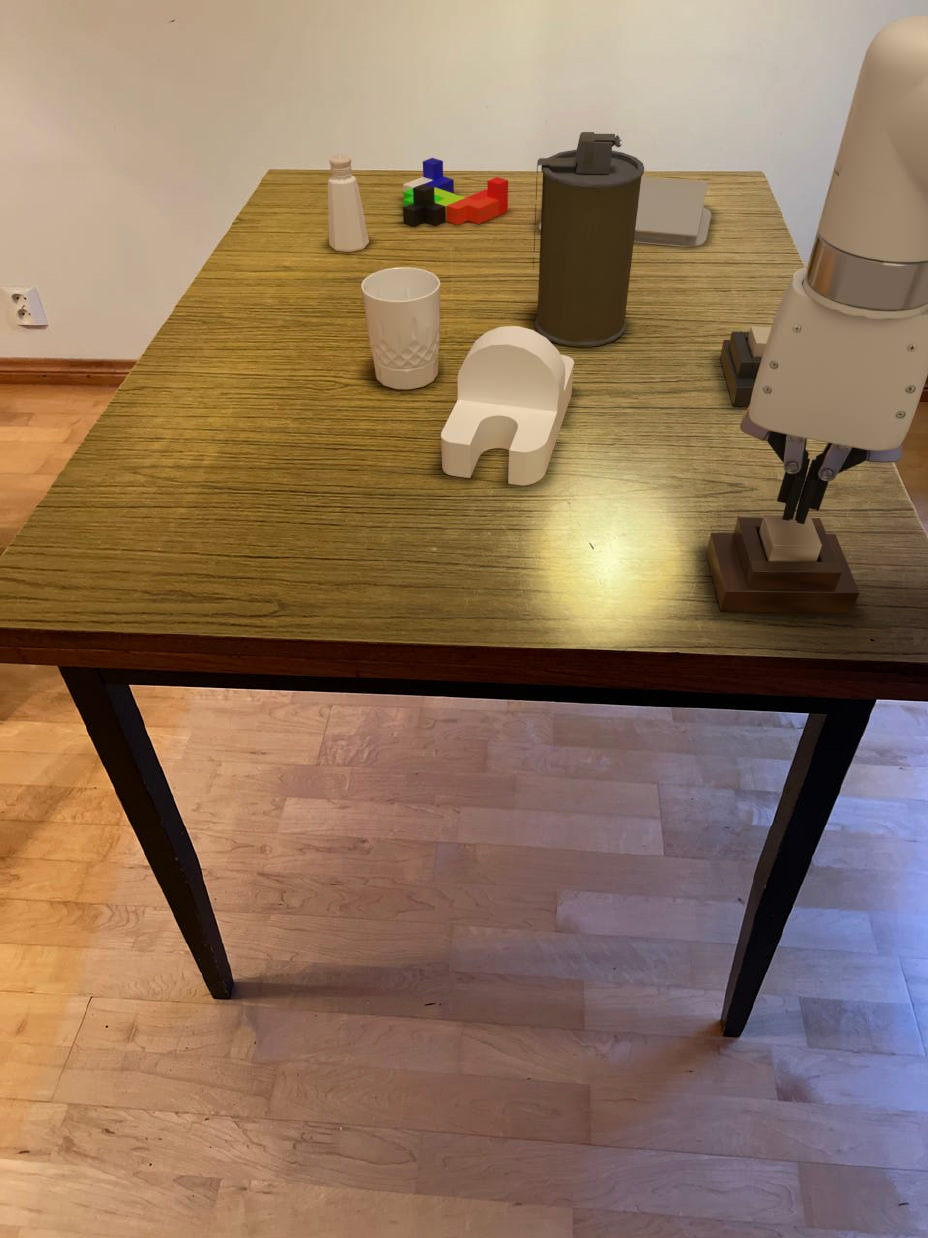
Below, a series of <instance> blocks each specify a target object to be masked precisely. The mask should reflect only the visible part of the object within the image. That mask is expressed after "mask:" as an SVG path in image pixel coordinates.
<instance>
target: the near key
mask: <svg viewBox="0 0 928 1238" xmlns="http://www.w3.org/2000/svg"><path fill="white" fill-rule="evenodd" d="M795 516H796V515H794V517H793V520H789V521H786V520H782V517H783V515H763V516H762V517H763V520H762V523H761V527H760V531H759V535H760V538H761V541H762V544H763V547H764V551H765V554H766V557H767V560H768V561H792V562H817V559H818V556H819V553H820V550H821V547H822V544H821V542H820V539H819V537H818V534H817V532H816V529H815V527H814V524H813V521H812V519H811V518H812V516H810V515H807V517H806V520H805V523H804V524H800V523H797V521H795Z"/></svg>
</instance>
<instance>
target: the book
mask: <svg viewBox="0 0 928 1238" xmlns="http://www.w3.org/2000/svg"><path fill="white" fill-rule="evenodd" d="M708 187H709V181H704V180H689V179H679V178H677V179H675V178H666V177H665V178H663V177H651V176H641V185H640V193H639V202H638V210H637V219H636V228H635V236H634V243H638V244H645V245H646V244H648V245H658V246H671V247H680V248H696V247H698V246H701V245H703V244H704V243H705V242H706V241H707V237H708V233H709V227H710V223H711V219H712V213H711V210H710V209H708V208H706V207H705V206H704V205H705V200H706V196H707V191H708ZM538 227H539V230H540V231H541V221H540V222H539V225H538Z"/></svg>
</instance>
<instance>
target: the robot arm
mask: <svg viewBox="0 0 928 1238" xmlns="http://www.w3.org/2000/svg"><path fill="white" fill-rule="evenodd" d="M836 155H837V156H836V158H835V162H834V166H833V170H832V174H831V177H830V181H829V185H828V189H827V193H826V196H825V200H824V204H823V207H822V211H821V214H820V218H819V221H818V226H817V231H816V233H815V237H814V241H813V245H812V248H811V252H810V256H809V259H808V263H807V266H805V267H801V268H799V269H797V270H796V271H795V272H794V273H793V275H792V276H791V278H790V281H789V282H788V284H787V286H786V288H785V290H784V293H783V295H782V297H781V300H780V302H779V305H778V306H777V307H778V308H777V310H776V313H775V316H774V319H773V321H772V325H771V326H770V327H771V330H770V334H769V337H768V340H767V343H766V346H765V350H764V353H763V356H762V359H761V363H760V366H759V370H758V373H757V377H756V381H755V384H754V388H753V393H752V397H751V402H750V405H749V407H747V409H746V410H745V411H744V414H743V416H742V419H741V422H740V425H739V429H740V431H741V432H742V433H744V434H746V435H748V436H750V437H753V438H756V439H758V440H760V441H762V442H764V441H765V442H766V443H768V445H769V447H770V448H771V449H772V450H773V451H774V453H775V455H776V456H777V457H778V458H779V459H780V461H781V462H782V464H783V465H782V468H783V471H784V475H783V478H782V481H781V484H780V488H779V491H778V495H777V499H776V502H777V503H783V504H785V506H784V510H783V514H782V516H783V517H782V520H786V521H789V520H793V517H794V516H795V521H797V523H800V524H804V523H805V520H806V517H807V516H808V514H809V512H810V510H815V511H819V510H820V508H821V505H822V502H823V500H824V496H825V493H826V491H827V488H828V486H829V482H832V481H834V480H835V479H836V478H837V475H838V474H841V473H843V472H845V471H847V470H849V469H851V468H854V467H856V466H859V465H860V464H862V463H864V462H868V463H897V462H898V461H900V460H901V459H902V453H903V443H904V440H905V439H906V437H907V435H908V433H909V430H910V427H911V424H912V422H913V420H914V417H915V414H916V411H917V408H918V405H919V403H920V400H921V396H922V394H923V391H924V388H925V384H926V381H927V378H928V14H925V15H923V14H922V15H915V16H909V17H904V18H901V19H898V20H895V21H892V22H890V23H889V24H886V26H883V28H881V29H880V30H879V31H878V32H877V33H876V34H875V36H874V37H873V39H872V40H871V42H870V43H869V45H868V47H867V49H866V51H865V54H864V57H863V61H862V63H861V67H860V69H859V74H858V77H857V81H856V85H855V89H854V92H853V95H852V100H851V104H850V108H849V111H848V115H847V119H846V122H845V125H844V129H843V133H842V137H841V140H840V144H839V148H838V152H837V154H836ZM808 440H811V441H817V442H823V443H826V444H825V446H824V448H823V450H822V452H821V453H818V454H817V455H816V456H815V459H814V458H813V459H811V458H810V453H809V452H808V451H807V443H808Z"/></svg>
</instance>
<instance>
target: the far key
mask: <svg viewBox="0 0 928 1238" xmlns="http://www.w3.org/2000/svg"><path fill="white" fill-rule="evenodd" d="M771 327H772V326H757V325H756V326H755V325H753V326H750V328H749V331H748V332H749V337H748V341H747V342H748V345H749V349H750V352H751V355H752V357H762V356H763V353H764V350H765V346H766V343H767V340H768V337H769V334H770V330H771Z"/></svg>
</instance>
